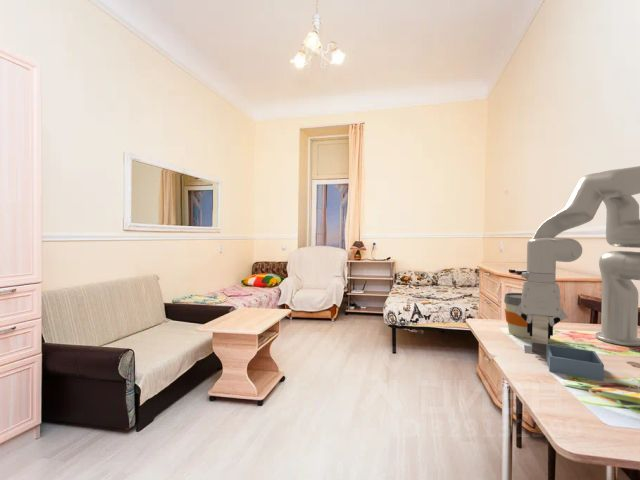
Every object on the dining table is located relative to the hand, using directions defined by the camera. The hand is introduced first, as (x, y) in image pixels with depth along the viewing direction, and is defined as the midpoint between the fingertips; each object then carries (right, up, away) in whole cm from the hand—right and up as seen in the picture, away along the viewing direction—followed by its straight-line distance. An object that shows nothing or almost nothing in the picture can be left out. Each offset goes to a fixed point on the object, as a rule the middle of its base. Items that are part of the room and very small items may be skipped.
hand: (539, 335), depth 104 cm
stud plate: (0, -6, 0) cm, 6 cm away
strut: (0, -5, 0) cm, 5 cm away
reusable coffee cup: (+6, -6, +18) cm, 19 cm away
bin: (+1, -6, -13) cm, 14 cm away
